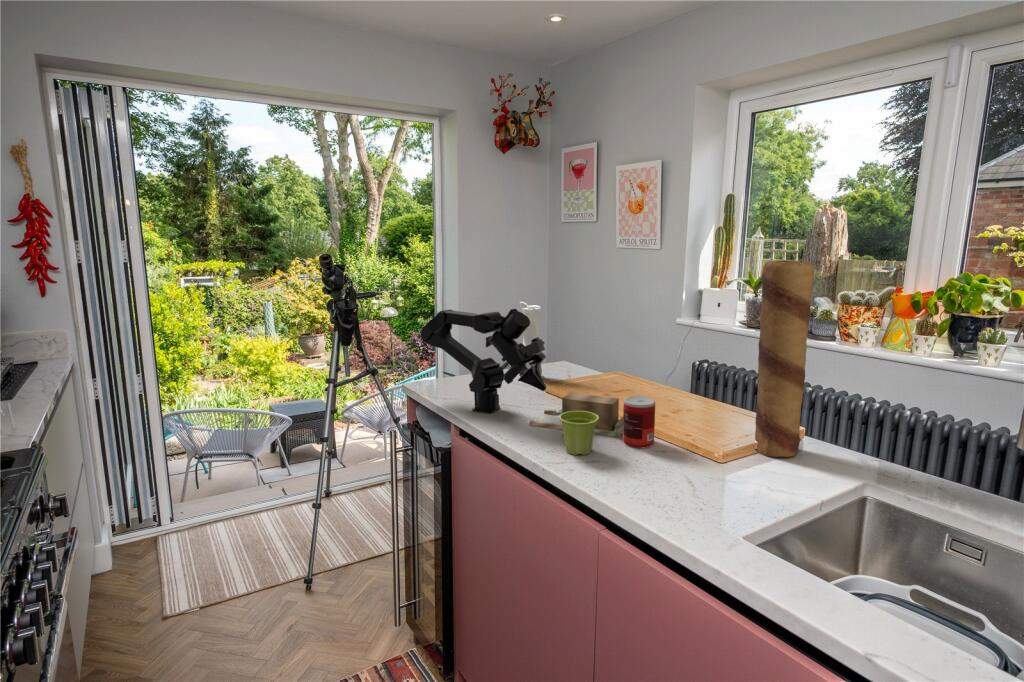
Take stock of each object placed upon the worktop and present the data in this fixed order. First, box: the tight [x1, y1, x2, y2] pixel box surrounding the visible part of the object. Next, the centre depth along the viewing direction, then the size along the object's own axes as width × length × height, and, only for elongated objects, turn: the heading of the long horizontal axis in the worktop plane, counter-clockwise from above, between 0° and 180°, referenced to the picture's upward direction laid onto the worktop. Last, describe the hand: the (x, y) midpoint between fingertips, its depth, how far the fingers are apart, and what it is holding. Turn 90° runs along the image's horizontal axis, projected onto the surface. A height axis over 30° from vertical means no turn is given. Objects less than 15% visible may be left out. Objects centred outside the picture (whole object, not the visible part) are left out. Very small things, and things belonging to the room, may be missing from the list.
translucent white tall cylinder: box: [519, 301, 545, 380], centre depth 206 cm, size 8×8×28 cm
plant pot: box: [559, 411, 599, 456], centre depth 138 cm, size 9×9×9 cm
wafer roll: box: [754, 259, 815, 459], centre depth 133 cm, size 10×11×45 cm
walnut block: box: [561, 392, 620, 431], centre depth 155 cm, size 14×6×8 cm, turn 64°
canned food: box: [622, 395, 656, 449], centre depth 142 cm, size 8×8×11 cm
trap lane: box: [529, 408, 623, 438], centre depth 158 cm, size 25×22×3 cm
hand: (545, 389), depth 161 cm, fingers closed
